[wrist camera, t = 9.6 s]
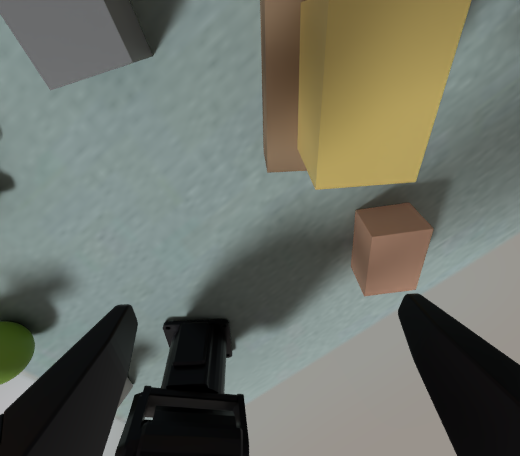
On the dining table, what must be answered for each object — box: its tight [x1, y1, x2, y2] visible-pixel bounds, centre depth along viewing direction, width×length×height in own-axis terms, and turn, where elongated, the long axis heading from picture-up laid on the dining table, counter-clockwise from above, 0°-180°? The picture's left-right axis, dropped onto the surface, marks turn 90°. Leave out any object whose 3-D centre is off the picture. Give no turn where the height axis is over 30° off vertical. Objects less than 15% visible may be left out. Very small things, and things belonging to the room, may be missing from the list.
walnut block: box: [260, 0, 307, 172], centre depth 14 cm, size 9×7×4 cm
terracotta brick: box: [351, 203, 434, 296], centre depth 21 cm, size 6×4×4 cm, turn 8°
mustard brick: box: [297, 0, 471, 190], centre depth 11 cm, size 6×4×4 cm, turn 3°
